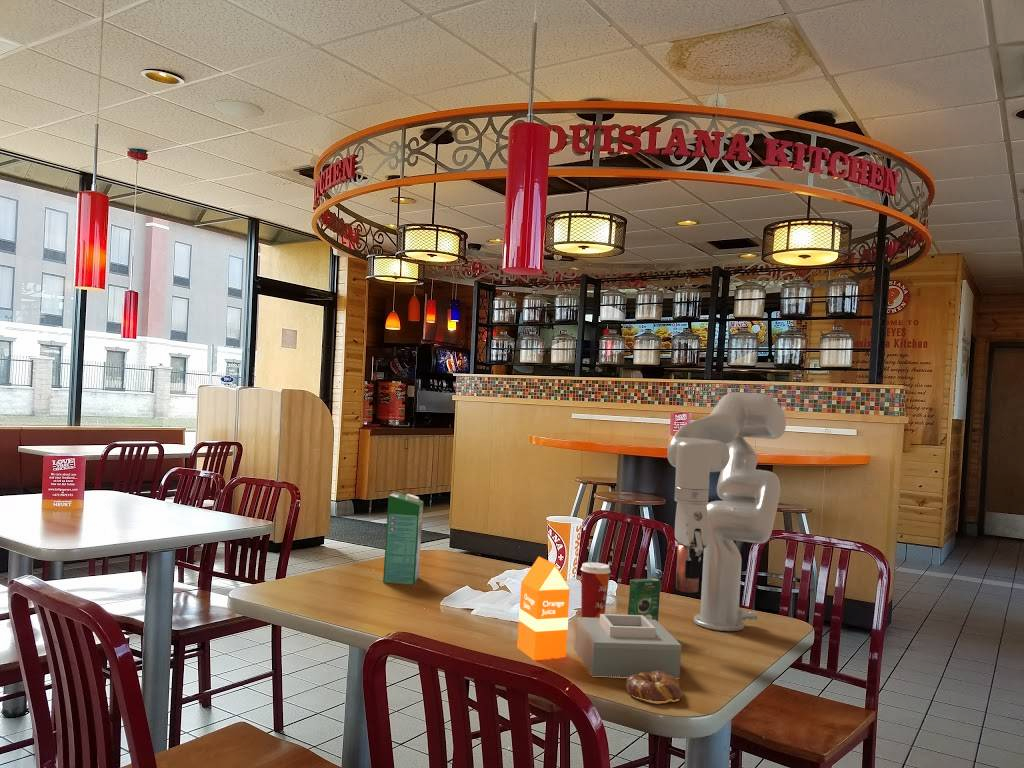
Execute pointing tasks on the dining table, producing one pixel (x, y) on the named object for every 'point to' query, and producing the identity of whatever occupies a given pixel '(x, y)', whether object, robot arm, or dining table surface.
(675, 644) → the grey square box
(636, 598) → the coffee box
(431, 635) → the dining table surface
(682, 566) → the spout can
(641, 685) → the pretzel
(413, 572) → the milk carton
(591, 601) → the paper cup
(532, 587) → the orange juice
